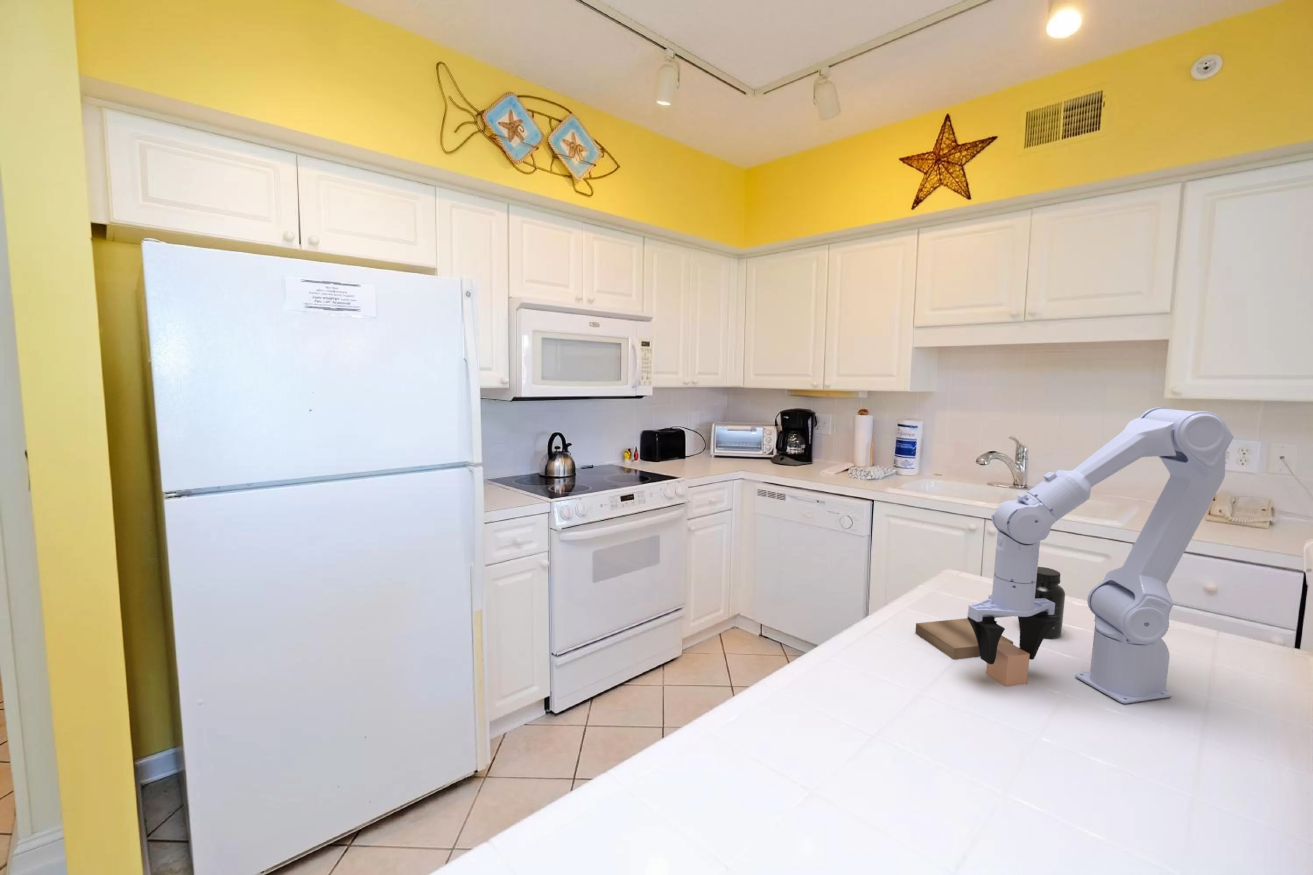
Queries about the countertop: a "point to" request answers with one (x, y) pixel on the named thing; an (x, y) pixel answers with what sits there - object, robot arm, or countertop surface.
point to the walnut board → (952, 637)
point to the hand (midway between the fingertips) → (1007, 658)
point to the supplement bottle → (1051, 596)
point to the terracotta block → (1009, 665)
